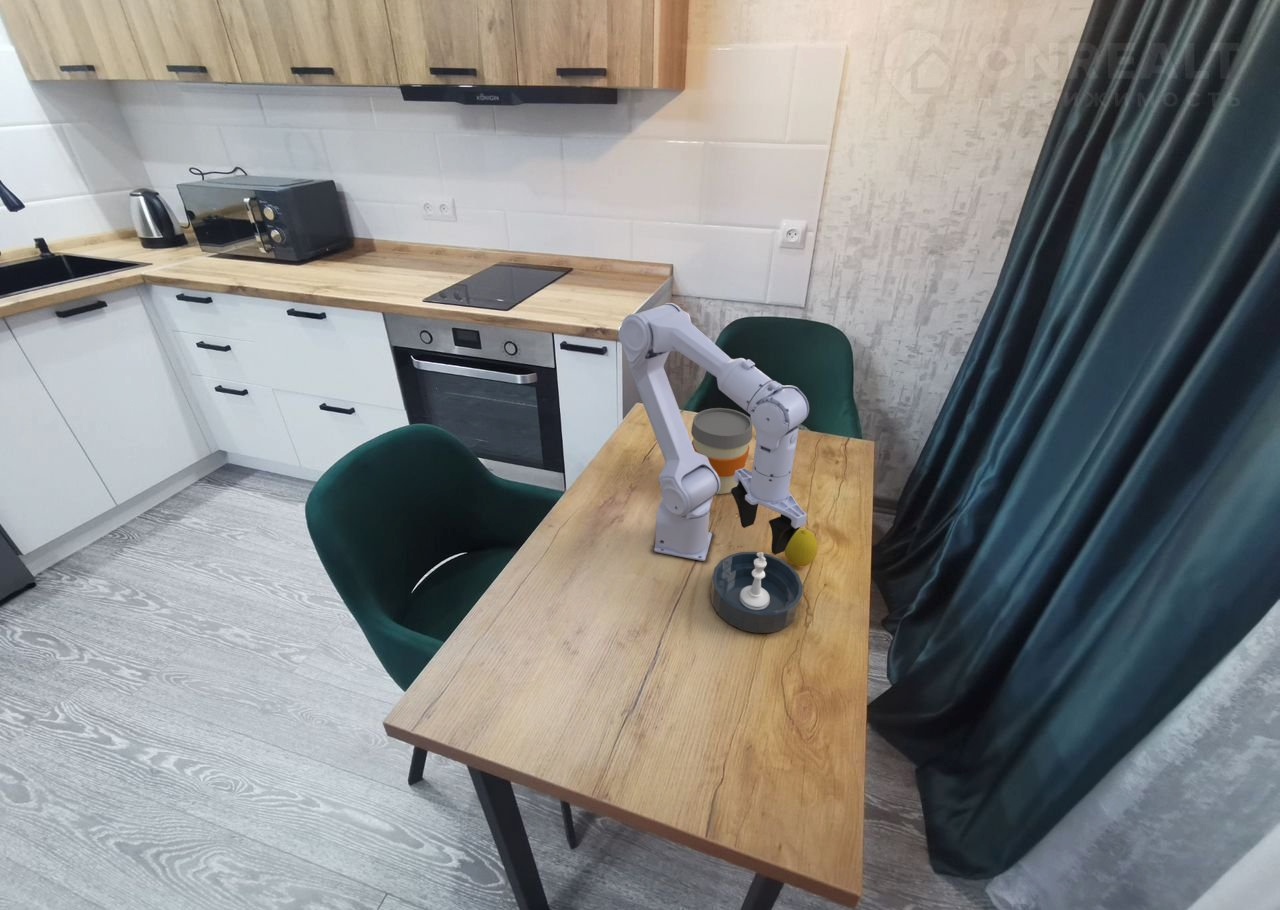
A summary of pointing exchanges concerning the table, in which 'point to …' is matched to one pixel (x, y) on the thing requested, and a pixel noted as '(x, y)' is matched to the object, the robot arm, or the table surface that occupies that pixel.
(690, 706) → the table surface
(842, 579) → the table surface
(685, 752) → the table surface
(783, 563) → the bowl
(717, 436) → the reusable coffee cup
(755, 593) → the chess piece
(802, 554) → the lemon
